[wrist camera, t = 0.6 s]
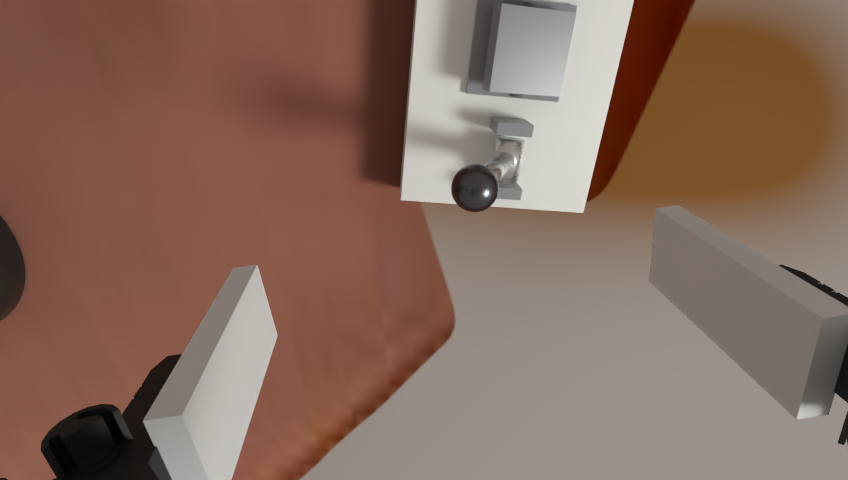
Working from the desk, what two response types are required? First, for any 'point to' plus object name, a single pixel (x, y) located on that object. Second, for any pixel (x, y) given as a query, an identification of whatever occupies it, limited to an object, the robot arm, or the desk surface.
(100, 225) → the desk surface
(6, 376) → the desk surface
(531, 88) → the rocker switch
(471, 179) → the toggle lever
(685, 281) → the robot arm
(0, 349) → the desk surface
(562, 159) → the switch panel
